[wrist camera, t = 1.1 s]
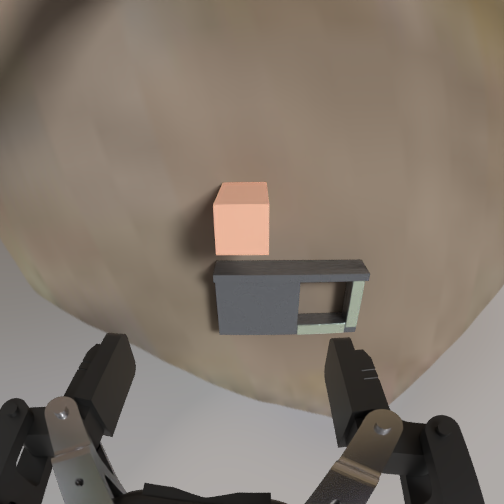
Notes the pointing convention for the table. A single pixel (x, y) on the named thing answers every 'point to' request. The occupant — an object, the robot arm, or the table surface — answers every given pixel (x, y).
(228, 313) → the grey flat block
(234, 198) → the salmon pink block
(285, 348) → the table surface
